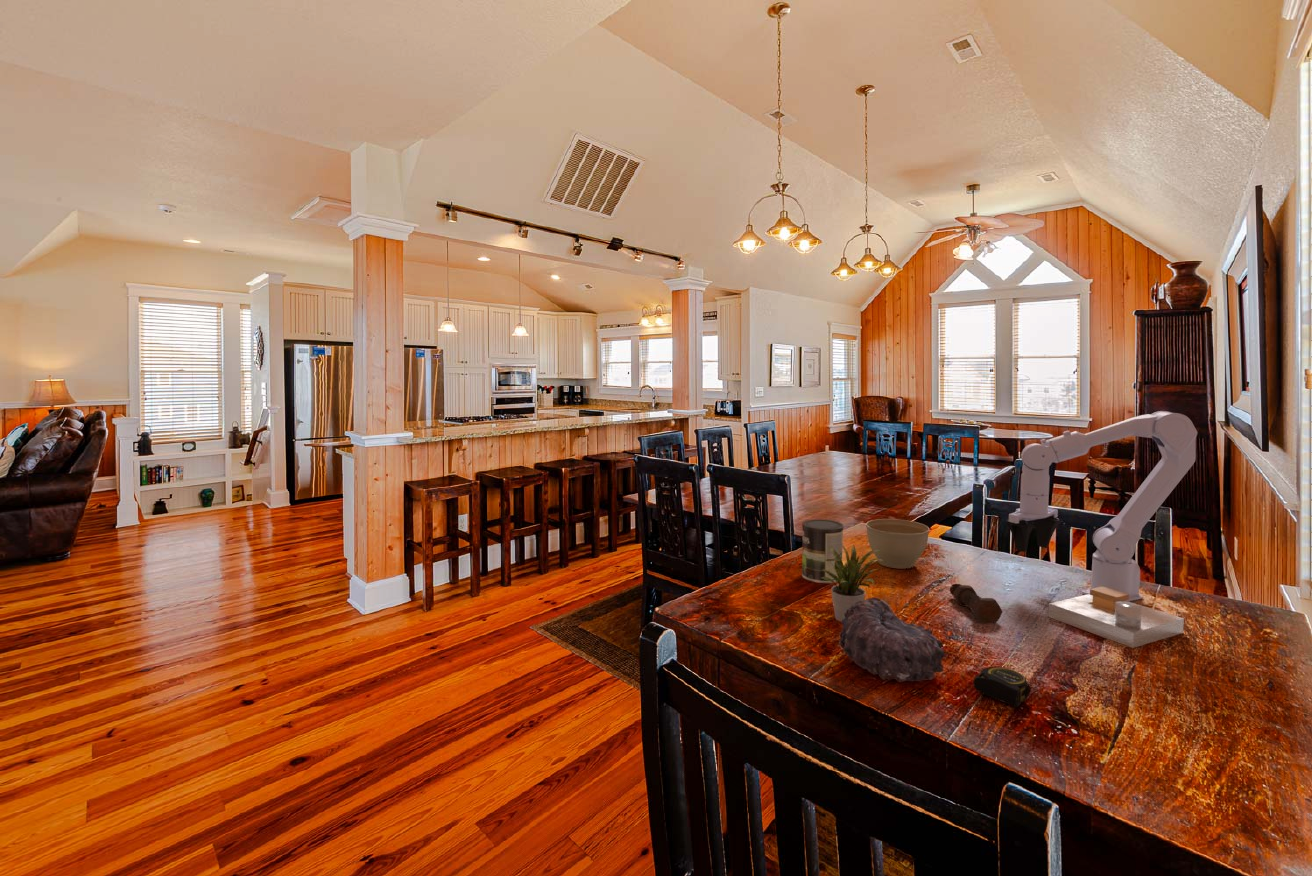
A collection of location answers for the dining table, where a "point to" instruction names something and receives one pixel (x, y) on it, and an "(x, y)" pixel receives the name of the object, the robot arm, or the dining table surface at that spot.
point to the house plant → (848, 581)
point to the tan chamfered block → (1107, 597)
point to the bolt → (977, 603)
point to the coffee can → (820, 548)
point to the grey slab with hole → (1117, 620)
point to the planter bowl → (897, 541)
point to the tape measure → (1002, 685)
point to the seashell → (889, 643)
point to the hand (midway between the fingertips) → (1031, 548)
